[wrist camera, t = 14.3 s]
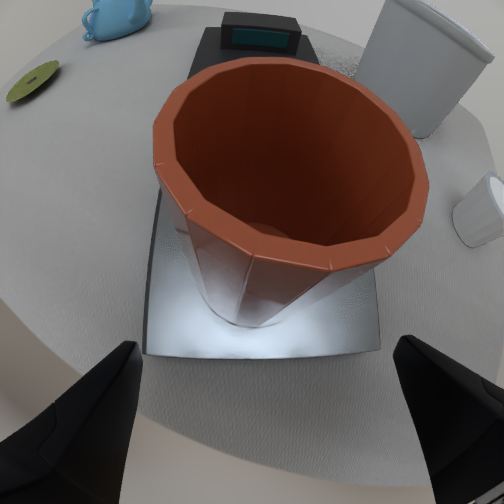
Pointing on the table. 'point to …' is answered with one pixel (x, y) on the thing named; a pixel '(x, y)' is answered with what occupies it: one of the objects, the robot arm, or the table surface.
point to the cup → (284, 183)
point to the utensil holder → (420, 63)
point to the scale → (181, 277)
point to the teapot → (115, 18)
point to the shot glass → (481, 212)
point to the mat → (31, 81)
